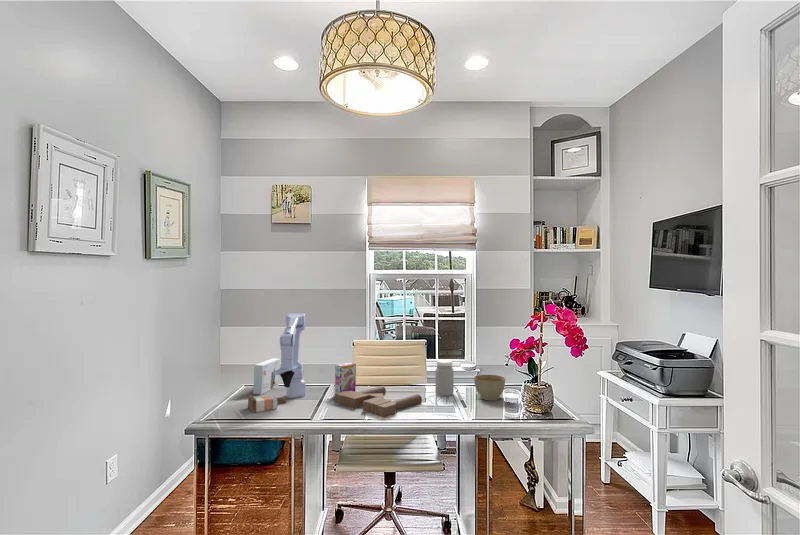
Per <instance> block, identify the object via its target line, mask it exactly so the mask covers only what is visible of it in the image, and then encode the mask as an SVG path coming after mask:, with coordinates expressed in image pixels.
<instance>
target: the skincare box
mask: <svg viewBox="0 0 800 535" xmlns="http://www.w3.org/2000/svg"><path fill="white" fill-rule="evenodd" d="M280 367H281V358H273V357H272V358H269V359H267V360H263V361H261V362H259V363H256V364H254V368H253V370H254V372H253V373H254V374H253V391H252V392H253V395H260V396H261V395H263V393H264V394H265V392H266V393H267V391H268V392H269V390H270V391H271V389H272V390H273V388H274V389H275V387H276V388H277V387H279V386H280V375H275V371H276V370H278V369H280Z"/></svg>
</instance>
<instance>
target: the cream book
mask: <svg viewBox="0 0 800 535" xmlns="http://www.w3.org/2000/svg"><path fill="white" fill-rule="evenodd" d="M254 398H255V397H254ZM255 399H256V413H257V412H264V411H265V410H264V400H263V399H262V398H261V397H256V398H255Z"/></svg>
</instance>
